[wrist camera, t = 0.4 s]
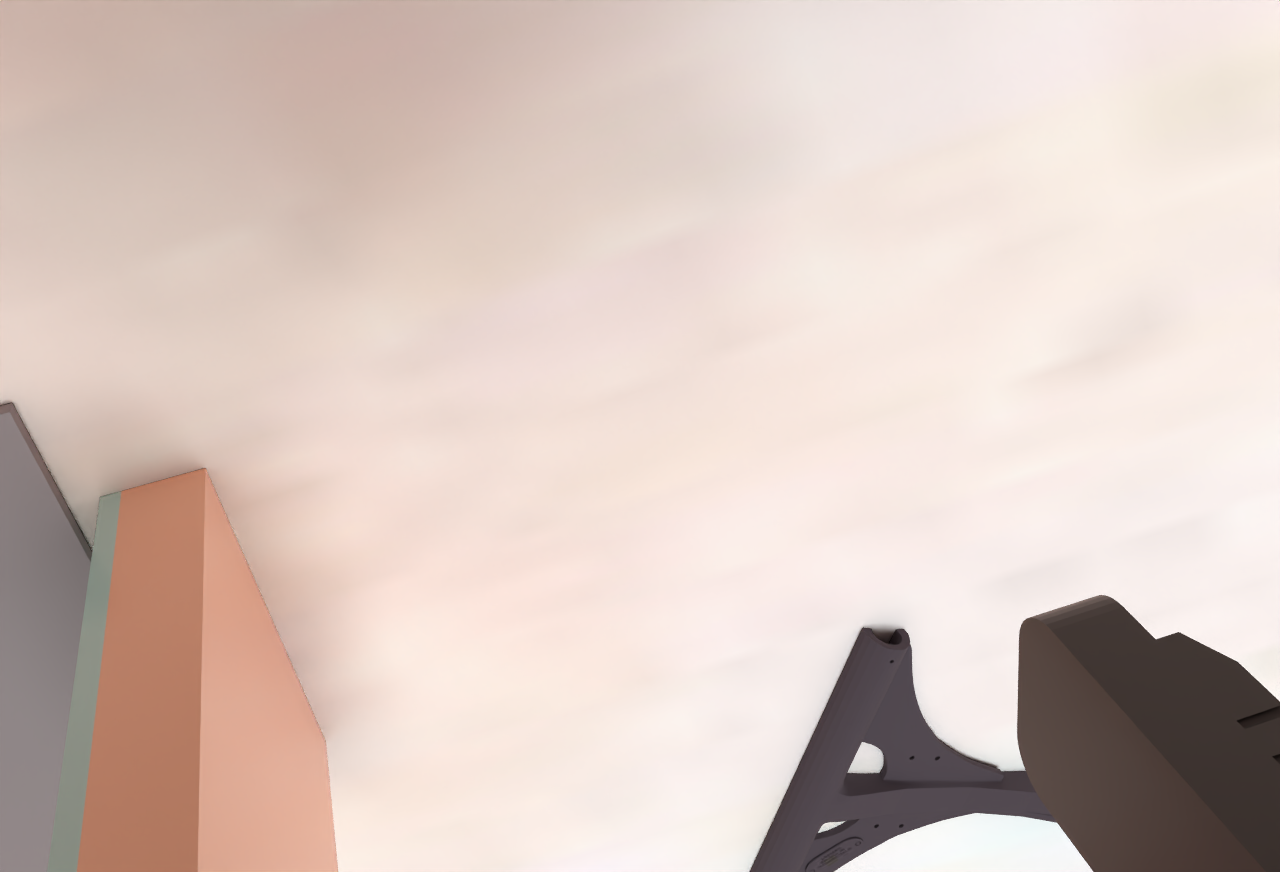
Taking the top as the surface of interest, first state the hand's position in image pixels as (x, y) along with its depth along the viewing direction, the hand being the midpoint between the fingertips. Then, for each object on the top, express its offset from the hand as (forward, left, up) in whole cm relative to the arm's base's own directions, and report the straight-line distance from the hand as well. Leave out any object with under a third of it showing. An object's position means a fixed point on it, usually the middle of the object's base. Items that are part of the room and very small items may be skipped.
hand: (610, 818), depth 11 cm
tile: (+12, -7, -19) cm, 24 cm away
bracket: (+29, +14, -20) cm, 38 cm away
